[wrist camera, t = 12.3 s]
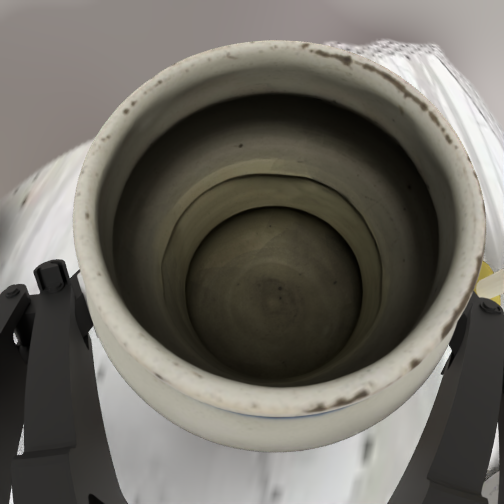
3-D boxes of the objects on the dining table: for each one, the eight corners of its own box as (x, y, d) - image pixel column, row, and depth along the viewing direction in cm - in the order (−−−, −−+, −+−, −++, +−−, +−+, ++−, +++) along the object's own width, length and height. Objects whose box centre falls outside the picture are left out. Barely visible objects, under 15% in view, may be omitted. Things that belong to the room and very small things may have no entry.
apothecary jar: (159, 296, 23) (-19, 156, 6) (282, 207, 25) (301, -14, 8) (256, 427, 19) (230, 608, 2) (383, 322, 21) (582, 221, 4)
